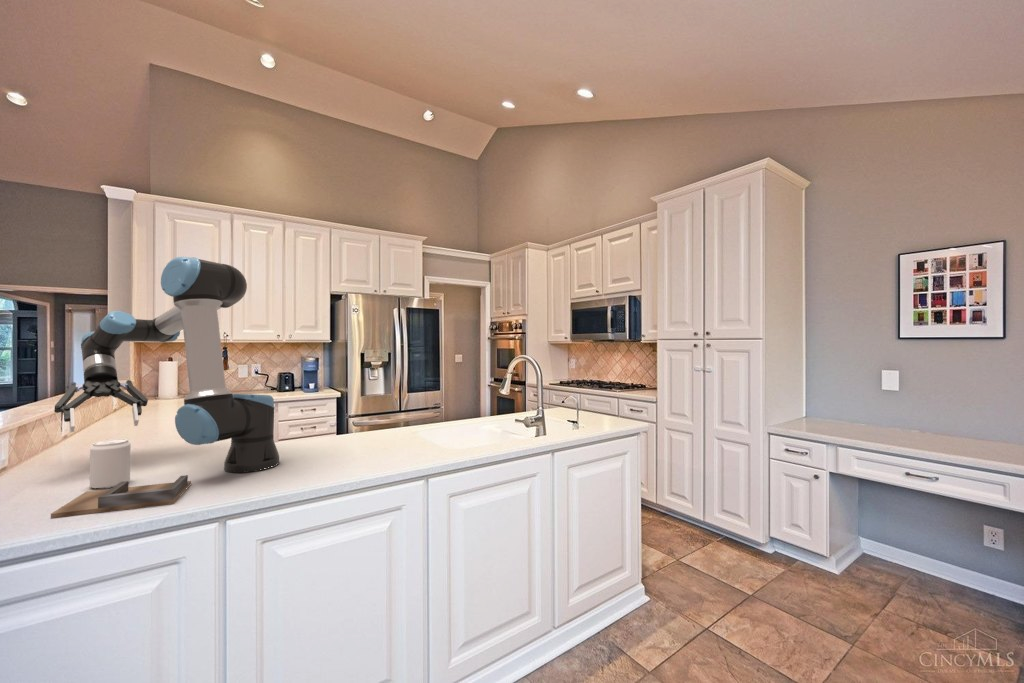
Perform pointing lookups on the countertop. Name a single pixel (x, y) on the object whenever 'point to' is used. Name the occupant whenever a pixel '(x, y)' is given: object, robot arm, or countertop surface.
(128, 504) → the keeper
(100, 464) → the beverage can
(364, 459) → the countertop surface
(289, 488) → the countertop surface
